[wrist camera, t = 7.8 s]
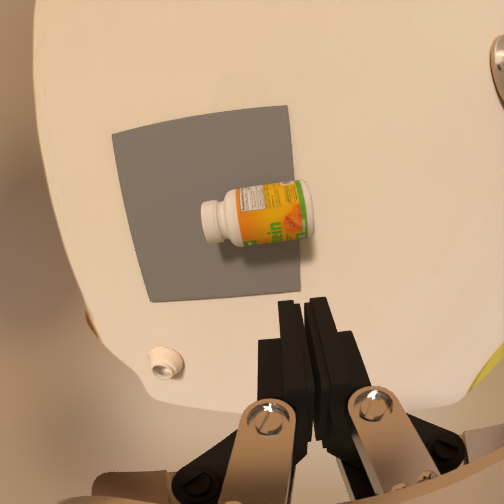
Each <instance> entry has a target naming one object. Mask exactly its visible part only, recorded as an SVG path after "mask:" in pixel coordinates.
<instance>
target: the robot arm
mask: <svg viewBox="0 0 504 504" xmlns="http://www.w3.org/2000/svg"><path fill="white" fill-rule="evenodd" d="M491 68H492V73H493V77H494V81H495V84H496V87H497V89H498V92H499V94H500V96H501V98H502V100H503V102H504V35H500V36H498V37H497V38H496V39H495V40H494V42H493V44H492V47H491ZM278 311H279V324H280V338H276V339H263V340H258V391H257V401H256V402H254V403H252V404H251V405H249V406H248V407H247V408H246V409H245V410H244V412H243V414H242V416H241V419H240V423H239V427H238V429H237V430H236V431H234V432H233V433H232V434H230V435H229V436H228V437H226V438H225V439H224V440H222V441H221V442H219V443H218V444H217V445H215V446H214V447H213V448H211V449H209V450H208V451H207V452H205V453H204V454H202V455H201V456H199V457H198V458H196V459H195V460H193V461H192V462H190V463H189V464H187V465H186V466H184V467H183V468H181V469H180V470H179V471H178V472H167V471H166V470H162V471H143V472H108V473H103V474H101V475H99V476H98V477H97V478H96V479H95V481H94V482H93V485H92V494H91V496H80V497H72V498H67V499H63V500H61V501H58V502H56V503H55V504H291V500H292V492H293V484H294V477H295V469H296V464H297V463H298V462H299V461H300V460H302V458H304V457H305V455H307V444H308V442H311V438H312V426H313V423H314V430H315V438H316V441H319V440H322V445H323V448H327V452H329V453H330V454H332V455H334V456H335V457H336V460H337V464H338V467H339V469H340V472H341V475H342V478H343V481H344V483H345V486H346V489H347V492H348V494H349V497H350V500H351V501H350V502H344V503H338V504H504V424H500V425H495V426H491V427H486V428H481V429H476V430H470V431H464V432H463V434H462V435H457V434H455V433H454V432H451V431H449V430H446V429H443V428H441V427H438V426H436V425H434V424H431V423H429V422H426V421H424V420H422V419H419V418H417V417H415V416H412V415H410V414H408V413H406V412H405V411H404V409H403V407H402V406H401V404H400V402H399V401H398V399H397V397H396V396H395V395H394V394H393V393H392V392H391V391H389V390H388V389H386V388H383V387H380V386H371V383H370V380H369V377H368V374H367V371H366V369H365V366H364V363H363V360H362V357H361V355H360V352H359V349H358V347H357V344H356V341H355V338H354V336H353V333H352V332H351V331H342V332H337V329H336V326H335V323H334V320H333V317H332V314H331V311H330V308H329V305H328V302H327V299H326V297H317V298H310V302H309V303H304V323H303V318H302V312H301V307H300V303H299V304H294V301H293V300H286V301H278Z"/></svg>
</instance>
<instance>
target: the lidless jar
mask: <svg viewBox="0 0 504 504" xmlns="http://www.w3.org/2000/svg"><path fill="white" fill-rule="evenodd" d="M148 359H149V363H150V368H151V372H152V373H153V375H154V376H156V377H157V378H160V379H164V380H167V379H170V378H171V377H172V376H174V375H175V374H177V373H178V372H179V371H180V370H181V369H182V367H183V359H182V358H181V356H180V355H179V354H178V353H177V352H176V351H174V350H172V349H170V348H167V347H156V348H153V349H152V350H151V351H150V353H149V355H148Z"/></svg>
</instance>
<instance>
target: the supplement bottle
mask: <svg viewBox="0 0 504 504" xmlns="http://www.w3.org/2000/svg"><path fill="white" fill-rule="evenodd" d="M201 220H202V226H203V231H204V234H205V238H206V240H207V242H208V243H209V244H212V243H220V242H224V240H225V239H230V240H231V242H232V243H233V244H234V245H235V246H238V247H243V246H251V245H258V244H264V243H272V242H279V241H287V240H294V239H302V238H308V237H312V236H313V235H314V211H313V203H312V198H311V194H310V190H309V187H308V185H307V183H306V181H304V180H295V181H287V182H280V183H273V184H265V185H258V186H252V187H245V188H239V189H234V190H230V191H229V192H227V194H226V195H225V198H224V201H222V202H219V201H218V200H211V201H207V202H203V203H202V206H201Z"/></svg>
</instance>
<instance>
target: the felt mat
mask: <svg viewBox="0 0 504 504" xmlns="http://www.w3.org/2000/svg"><path fill="white" fill-rule="evenodd" d="M112 141H113V147H114V154H115V159H116V165H117V171H118V176H119V181H120V186H121V191H122V196H123V201H124V205H125V210H126V214H127V219H128V223H129V227H130V231H131V235H132V239H133V243H134V247H135V251H136V255H137V258H138V262H139V266H140V269H141V273H142V276H143V280H144V283H145V286H146V290H147V293H148V296H149V299H150V302H152V301H171V300H187V299H203V298H217V297H230V296H243V295H255V294H266V293H277V292H287V291H297V290H300V266H299V246H298V239H294V240H287V241H279V242H272V243H264V244H258V245H251V246H243V247H238V246H235V245H234V244H233V243H232V242H231V240H230V239H225V240H224V242H220V243H212V244H209V243H208V242H207V240H206V238H205V234H204V231H203V226H202V220H201V206H202V203H203V202H207V201H211V200H218V201H219V202H222V201H224V198H225V195H226V194H227V192H229V191H230V190H234V189H239V188H245V187H252V186H258V185H265V184H273V183H280V182H287V181H294V171H293V159H292V148H291V137H290V127H289V117H288V108H287V105H284V106H271V107H259V108H249V109H241V110H232V111H225V112H218V113H211V114H204V115H198V116H192V117H187V118H181V119H176V120H171V121H166V122H161V123H156V124H152V125H147V126H143V127H139V128H135V129H131V130H127V131H123V132H119V133H115V134H112Z"/></svg>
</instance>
